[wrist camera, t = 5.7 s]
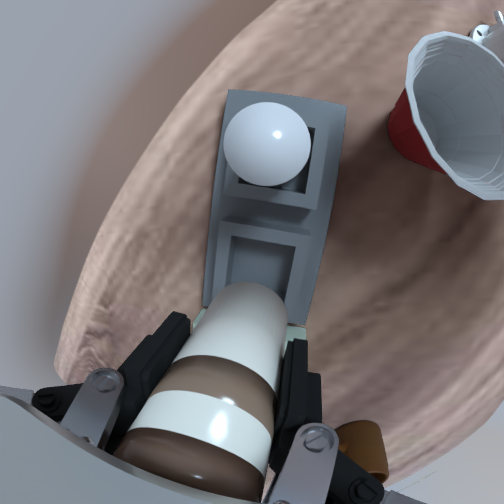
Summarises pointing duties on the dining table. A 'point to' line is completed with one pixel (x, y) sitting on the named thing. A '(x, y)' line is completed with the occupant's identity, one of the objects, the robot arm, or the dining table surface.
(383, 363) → the dining table surface
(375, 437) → the mug
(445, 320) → the dining table surface
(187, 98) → the dining table surface
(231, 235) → the block
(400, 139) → the plastic cup
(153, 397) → the cylinder
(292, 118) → the ball
